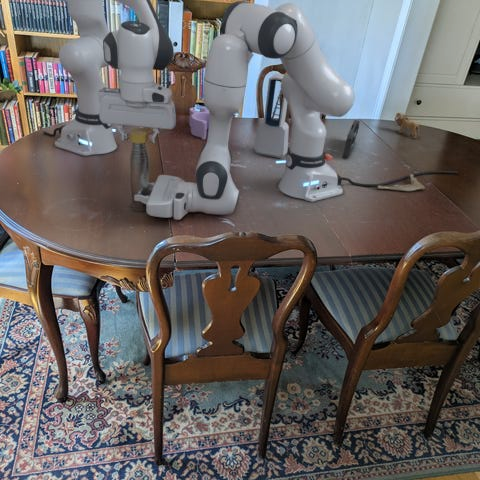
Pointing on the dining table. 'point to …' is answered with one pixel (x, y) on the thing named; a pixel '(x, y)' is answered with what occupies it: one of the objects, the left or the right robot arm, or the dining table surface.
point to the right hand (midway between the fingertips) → (137, 191)
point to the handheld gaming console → (351, 139)
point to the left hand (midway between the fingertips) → (138, 140)
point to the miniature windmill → (278, 100)
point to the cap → (138, 136)
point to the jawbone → (405, 186)
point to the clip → (199, 122)
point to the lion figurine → (406, 124)
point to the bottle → (139, 174)
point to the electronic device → (273, 126)
